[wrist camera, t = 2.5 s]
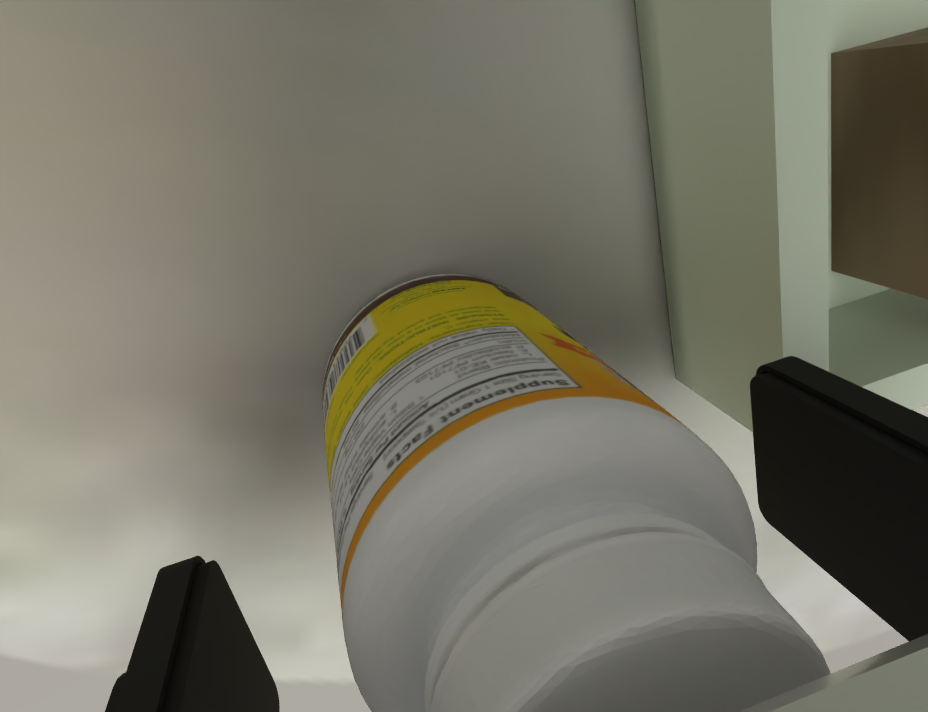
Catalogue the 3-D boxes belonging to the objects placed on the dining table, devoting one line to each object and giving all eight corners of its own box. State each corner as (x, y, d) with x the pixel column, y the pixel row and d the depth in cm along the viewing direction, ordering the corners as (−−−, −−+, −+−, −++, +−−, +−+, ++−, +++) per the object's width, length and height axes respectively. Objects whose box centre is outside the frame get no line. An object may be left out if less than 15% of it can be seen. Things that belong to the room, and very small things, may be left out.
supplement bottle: (568, 439, 17) (905, 839, 8) (363, 513, 16) (456, 1054, 7) (524, 233, 15) (921, 441, 5) (284, 308, 14) (265, 696, 5)
